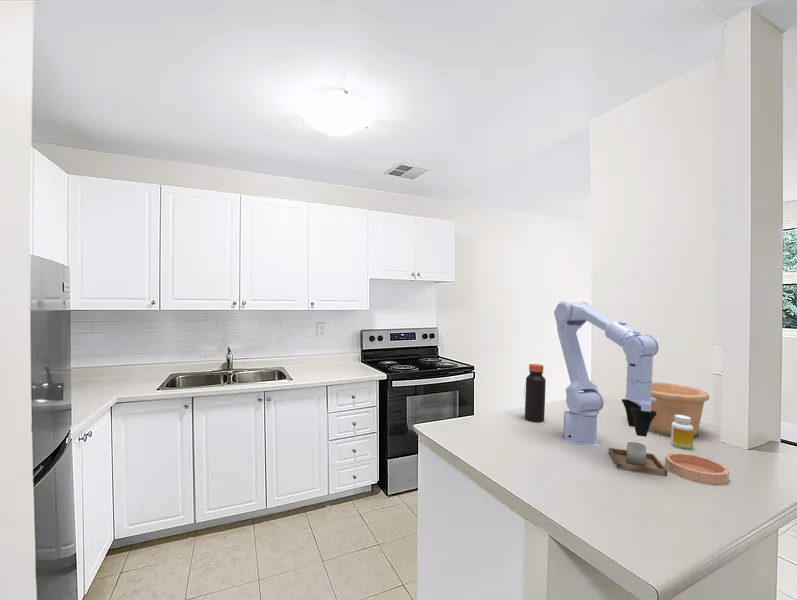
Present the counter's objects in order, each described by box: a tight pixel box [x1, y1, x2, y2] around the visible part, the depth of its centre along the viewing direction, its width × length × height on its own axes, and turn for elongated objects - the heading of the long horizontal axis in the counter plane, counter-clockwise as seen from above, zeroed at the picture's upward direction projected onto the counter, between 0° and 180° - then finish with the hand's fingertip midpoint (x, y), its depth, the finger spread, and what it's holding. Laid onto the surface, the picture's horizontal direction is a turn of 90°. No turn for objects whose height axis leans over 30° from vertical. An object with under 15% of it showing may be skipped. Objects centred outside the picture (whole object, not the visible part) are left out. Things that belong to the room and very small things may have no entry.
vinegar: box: [524, 363, 547, 423], centre depth 140 cm, size 7×7×20 cm
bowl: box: [664, 452, 730, 486], centre depth 99 cm, size 13×13×3 cm
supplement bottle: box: [670, 415, 694, 451], centre depth 117 cm, size 5×5×10 cm
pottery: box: [648, 381, 710, 438], centre depth 134 cm, size 22×22×14 cm
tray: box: [608, 447, 668, 477], centre depth 103 cm, size 11×11×2 cm
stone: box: [626, 441, 647, 467], centre depth 103 cm, size 4×4×5 cm
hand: (637, 431), depth 103 cm, fingers open, 7 cm apart
